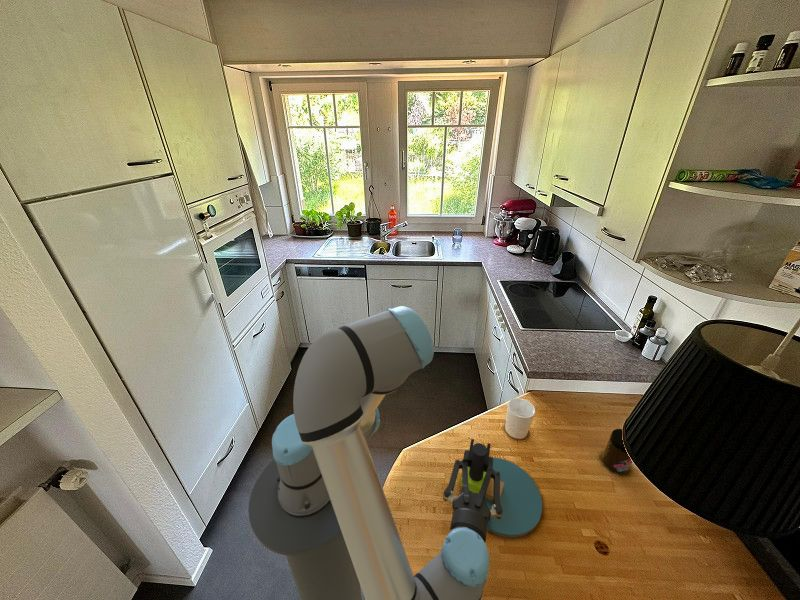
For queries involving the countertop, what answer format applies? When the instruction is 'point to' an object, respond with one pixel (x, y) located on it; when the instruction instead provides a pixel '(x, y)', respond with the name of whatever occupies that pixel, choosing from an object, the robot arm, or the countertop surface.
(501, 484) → the brown rectangular block
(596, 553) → the countertop surface
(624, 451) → the supplement container
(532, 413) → the white cup
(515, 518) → the plate
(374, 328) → the robot arm
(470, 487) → the sponge wand
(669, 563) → the countertop surface
